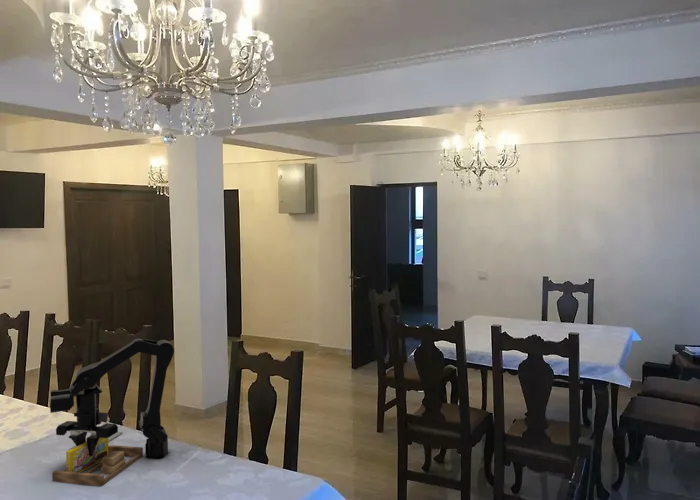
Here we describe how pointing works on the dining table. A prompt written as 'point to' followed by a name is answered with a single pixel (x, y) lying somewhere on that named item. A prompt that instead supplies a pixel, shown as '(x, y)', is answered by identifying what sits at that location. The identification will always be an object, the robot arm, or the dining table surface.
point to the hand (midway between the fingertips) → (87, 455)
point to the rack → (98, 478)
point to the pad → (108, 438)
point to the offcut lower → (112, 468)
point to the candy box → (85, 456)
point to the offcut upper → (113, 458)
